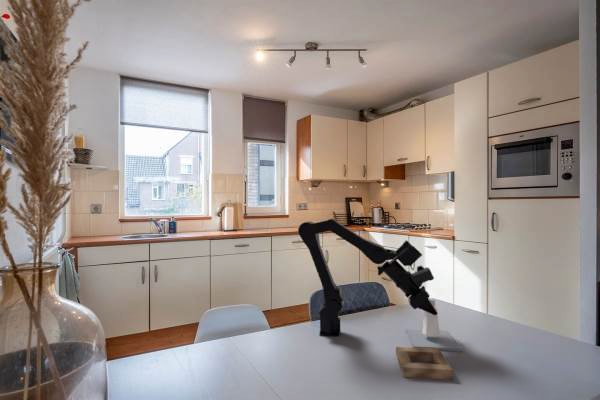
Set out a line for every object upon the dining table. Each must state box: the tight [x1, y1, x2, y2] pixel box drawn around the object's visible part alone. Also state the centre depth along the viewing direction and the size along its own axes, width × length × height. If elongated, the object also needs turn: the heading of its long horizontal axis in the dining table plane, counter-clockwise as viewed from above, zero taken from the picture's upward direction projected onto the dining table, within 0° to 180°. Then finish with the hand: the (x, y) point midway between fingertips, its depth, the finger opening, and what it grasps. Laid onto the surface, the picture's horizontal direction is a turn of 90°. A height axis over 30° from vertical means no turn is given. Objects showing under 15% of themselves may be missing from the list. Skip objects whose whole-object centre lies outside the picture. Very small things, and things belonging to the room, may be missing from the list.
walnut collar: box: [395, 346, 454, 381], centre depth 88 cm, size 12×12×2 cm
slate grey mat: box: [404, 328, 463, 352], centre depth 105 cm, size 14×14×1 cm
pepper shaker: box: [421, 298, 441, 337], centre depth 105 cm, size 5×5×11 cm
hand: (435, 312), depth 105 cm, fingers closed on pepper shaker, 4 cm apart
